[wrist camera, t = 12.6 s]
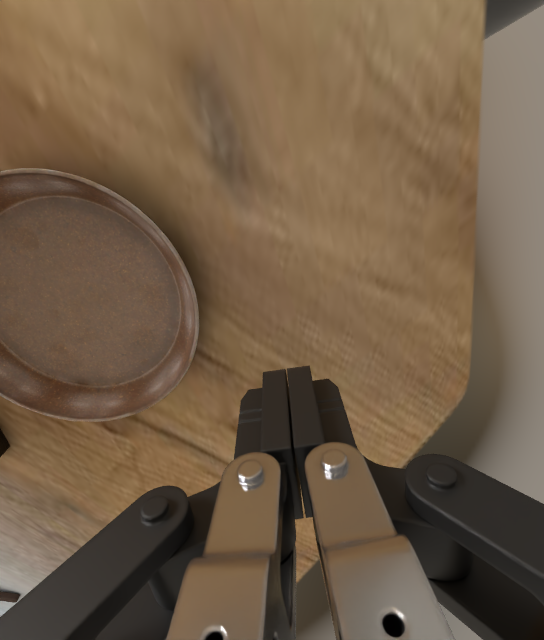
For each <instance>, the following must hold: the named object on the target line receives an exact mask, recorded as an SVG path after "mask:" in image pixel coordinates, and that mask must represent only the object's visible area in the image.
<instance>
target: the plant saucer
mask: <svg viewBox="0 0 544 640" xmlns="http://www.w3.org/2000/svg"><path fill="white" fill-rule="evenodd" d="M198 335H199V310H198V303H197V297H196V293H195V290H194V287H193V283H192V280H191V278H190V275H189V273H188V271H187V269H186V266H185V264H184V263H183V261H182V259H181V257H180V255H179V254H178V252H177V251H176V249H175V248H174V246H173V245H172V243H171V242H170V241H169V239H168V238H167V237H166V236H165V234H164V233H163V232H162V231H161V230H160V229H159V227H158V226H157V225H156V224H155V223H154V222H153V221H152V220H151V219H150V218H149V217H147V216H146V215H145V214H144V213H143V212H142V211H141V210H139V209H138V208H137V207H136V206H134V205H133V204H132V203H130V202H129V201H128V200H126V199H125V198H123V197H122V196H120V195H118V194H117V193H115V192H113V191H112V190H110V189H108V188H106V187H104V186H102V185H100V184H98V183H96V182H93V181H91V180H88V179H86V178H83V177H80V176H77V175H73V174H70V173H66V172H61V171H56V170H49V169H37V168H20V169H11V170H4V171H0V396H2V397H3V398H5V399H7V400H9V401H11V402H13V403H15V404H17V405H19V406H21V407H23V408H26V409H28V410H31V411H34V412H37V413H40V414H43V415H46V416H50V417H53V418H59V419H64V420H71V421H86V422H97V421H109V420H115V419H120V418H124V417H128V416H131V415H133V414H137V413H139V412H141V411H143V410H145V409H148V408H149V407H151V406H153V405H155V404H156V403H157V402H159V401H160V400H162V399H163V398H164V397H166V396H167V395H168V394H169V393H170V392H171V391H172V390H173V389H174V388H175V387H176V386H177V385H178V383H179V382H180V381H181V380H182V378H183V377H184V375H185V374H186V372H187V370H188V368H189V366H190V364H191V362H192V359H193V357H194V354H195V351H196V346H197V342H198Z"/></svg>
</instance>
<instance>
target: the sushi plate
mask: <svg viewBox="0 0 544 640" xmlns="http://www.w3.org/2000/svg"><path fill="white" fill-rule="evenodd" d="M19 596H20V595H19V594H15V593H8V592H1V591H0V601H7V602H17V601H18V599H19Z"/></svg>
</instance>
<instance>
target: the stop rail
mask: <svg viewBox="0 0 544 640" xmlns="http://www.w3.org/2000/svg"><path fill="white" fill-rule="evenodd" d="M9 447H10V445H9V444H8V442H7V440H6V438H5V436H4V434H3V433H2V431H1V429H0V457H1V456H2V455H3V454H4V453H5V452H6V450H7V449H8V448H9Z"/></svg>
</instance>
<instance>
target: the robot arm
mask: <svg viewBox="0 0 544 640" xmlns="http://www.w3.org/2000/svg"><path fill="white" fill-rule="evenodd" d="M287 373H288V381H287V375H286V370H285V369H282V370H275V371H267V372H263V386H262V388H258V389H251V390H248V391H247V393H246V394H245V396H244V397H243V398H242V400H241V405H240V414H239V424H238V430H237V438H236V446H235V454H234V460H233V461H232V462H231V463H230V464H228V466H227V467H226V468H225V470H224V472H223V475H222V478H221V481H220V482H219V483H218V484H216V485H214V486H213V487H211V488H209V489H207V490H204V491H202V492H199V493H197V494H194V495H192V496H189V497H187V495H186V493H185V492H184V491H183V490H182V489H180V488H178V487H175V486H162V487H158V488H155V489H153V490H150V491H148V492H147V493H145V494H144V495H142V496H141V497H140V498H138V499H137V500H136V501H135V502H134V503H133V504H131V505H130V506H129V507H128V508H127V509H126V510H124V511H123V512H122V513H121V514H120V515H119V516H117V517H116V518H115V519H114V520H113V521H112V522H110V523H109V524H108V525H107V526H106V527H105V528H103V529H102V530H101V531H100V532H99V533H98V534H96V535H95V536H94V537H93V538H92V539H91V540H89V541H88V542H87V543H86V544H85V545H84V546H83V547H81V548H80V549H79V550H78V551H77V552H76V553H74V554H73V555H72V556H71V557H70V558H69V559H67V560H66V561H65V562H64V563H63V564H62V565H60V566H59V567H58V568H57V569H56V570H55V571H53V572H52V573H51V574H50V575H49V576H48V577H46V578H45V579H44V580H43V581H42V582H41V583H40V584H38V585H37V586H36V587H35V588H34V589H33V590H31V591H30V592H29V593H28V594H27V595H26V596H24V597H23V598H22V599H21V600H20V601H19V602H17V603H16V604H15V605H14V606H13V607H12V608H10V609H9V610H8V611H7V612H6V613H5V614H3V615H2V616H1V617H0V640H296V546H295V541H296V529H295V519H301V518H303V508H302V498H301V491H302V497H303V503H304V509H305V514H306V518H308V517H313V523H314V529H315V535H316V542H317V548H318V553H319V558H320V563H321V568H322V573H323V578H324V582H325V587H326V592H327V597H328V602H329V607H330V612H331V616H332V621H333V626H334V631H335V636H336V640H455V638H454V636H453V634H452V631H451V629H450V627H449V625H448V623H447V620H446V618H445V616H444V614H443V612H442V609H441V607H440V605H439V603H440V604H441V605H443V606H444V607H445V608H446V609H447V610H449V611H450V612H451V613H452V614H453V615H455V616H456V617H457V618H458V619H459V620H461V621H462V622H463V623H464V624H465V625H467V626H468V627H469V628H470V629H471V630H472V631H474V632H475V633H476V634H477V635H478V636H480V637H481V638H482V639H483V640H544V504H542V503H540V502H539V501H537V500H534V499H533V498H531V497H529V496H527V495H525V494H523V493H521V492H519V491H517V490H515V489H513V488H511V487H509V486H507V485H505V484H503V483H501V482H499V481H497V480H495V479H493V478H491V477H489V476H487V475H486V474H484V473H482V472H480V471H478V470H476V469H474V468H472V467H470V466H468V465H466V464H464V463H462V462H460V461H458V460H456V459H454V458H451V457H448V456H444V455H437V454H427V455H422V456H419V457H417V458H415V459H413V460H412V461H411V462H410V463H409V464H408V465H407V468H406V469H400V468H393V467H387V466H382V465H379V464H376V463H374V462H372V461H370V460H368V459H367V458H366V457H364V456H363V455H362V454H361V453H360V451H359V450H358V449H357V446H356V444H355V440H354V437H353V434H352V431H351V428H350V424H349V421H348V418H347V415H346V412H345V409H344V405H343V402H342V399H341V396H340V392H339V389H338V387H337V386H336V385H335V384H334V383H333V382H331V381H330V380H329V379H323V380H315V381H312V376H311V371H310V366H303V367H295V368H288V369H287ZM288 384H289V387H288ZM300 485H301V488H300ZM438 602H439V603H438Z"/></svg>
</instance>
